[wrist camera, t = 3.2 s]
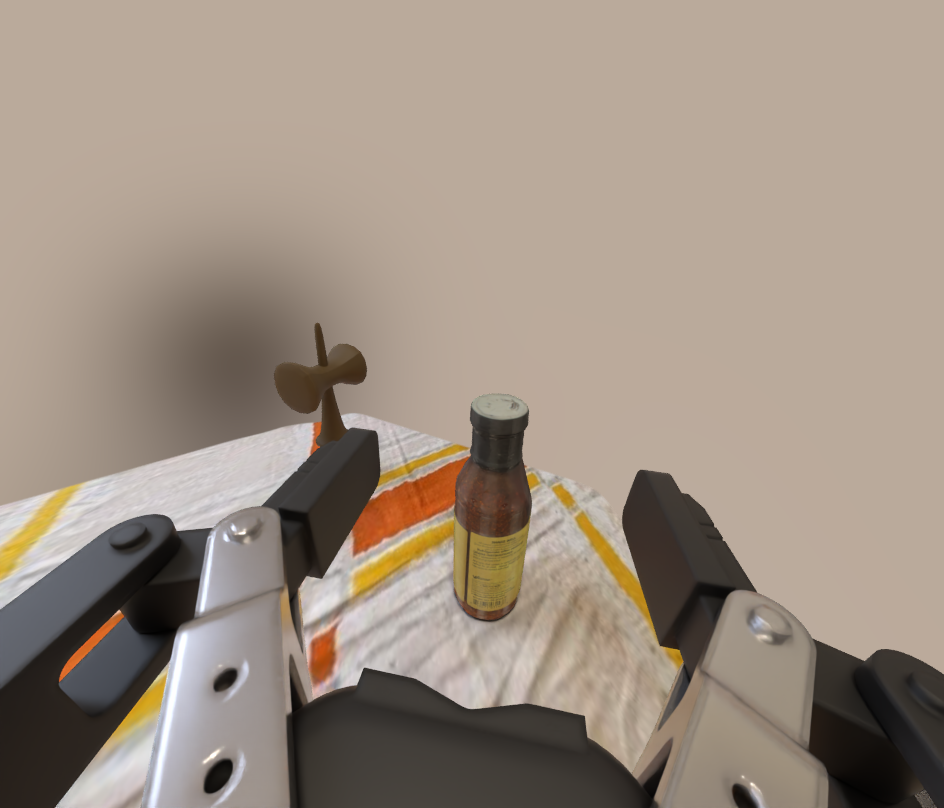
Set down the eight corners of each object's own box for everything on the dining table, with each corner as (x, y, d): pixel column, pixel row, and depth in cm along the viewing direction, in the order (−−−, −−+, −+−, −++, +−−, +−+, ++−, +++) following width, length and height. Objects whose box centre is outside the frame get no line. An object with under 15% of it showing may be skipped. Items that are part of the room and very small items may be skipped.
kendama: (293, 480, 44) (258, 328, 34) (345, 442, 52) (327, 310, 42) (330, 494, 42) (303, 337, 33) (377, 453, 50) (366, 318, 41)
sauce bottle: (530, 589, 33) (571, 408, 23) (490, 641, 28) (522, 444, 19) (478, 549, 36) (496, 379, 27) (436, 590, 32) (440, 404, 23)
